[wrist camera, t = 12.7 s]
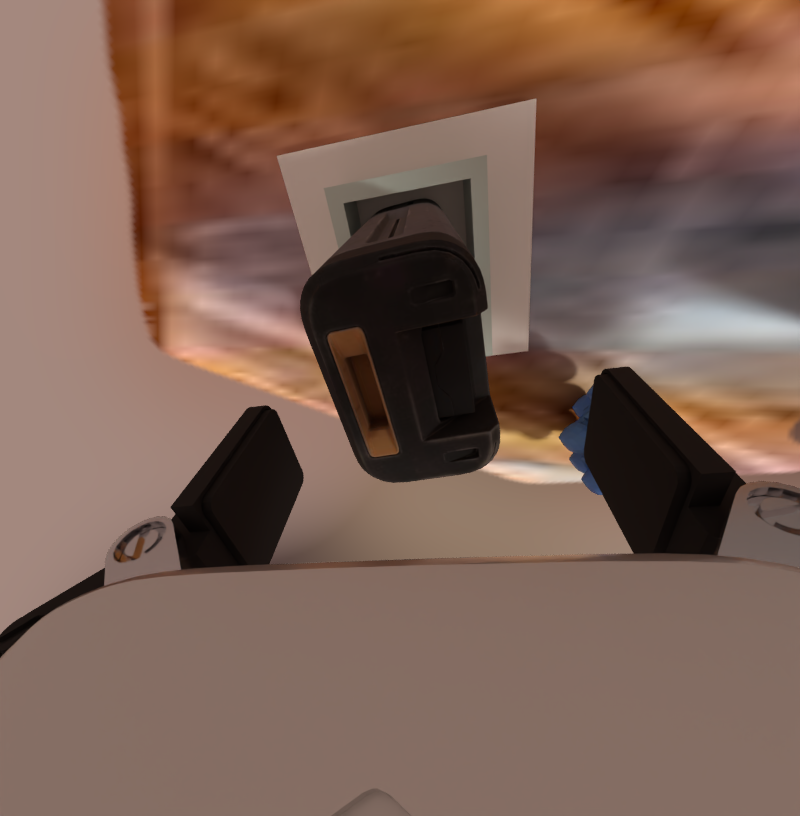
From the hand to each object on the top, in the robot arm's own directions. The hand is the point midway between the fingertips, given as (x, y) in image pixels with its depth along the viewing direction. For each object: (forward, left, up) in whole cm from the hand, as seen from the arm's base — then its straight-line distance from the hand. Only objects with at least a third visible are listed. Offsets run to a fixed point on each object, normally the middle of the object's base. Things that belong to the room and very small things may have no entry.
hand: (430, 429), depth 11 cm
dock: (+1, 0, -23) cm, 23 cm away
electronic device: (+1, 0, -22) cm, 22 cm away
